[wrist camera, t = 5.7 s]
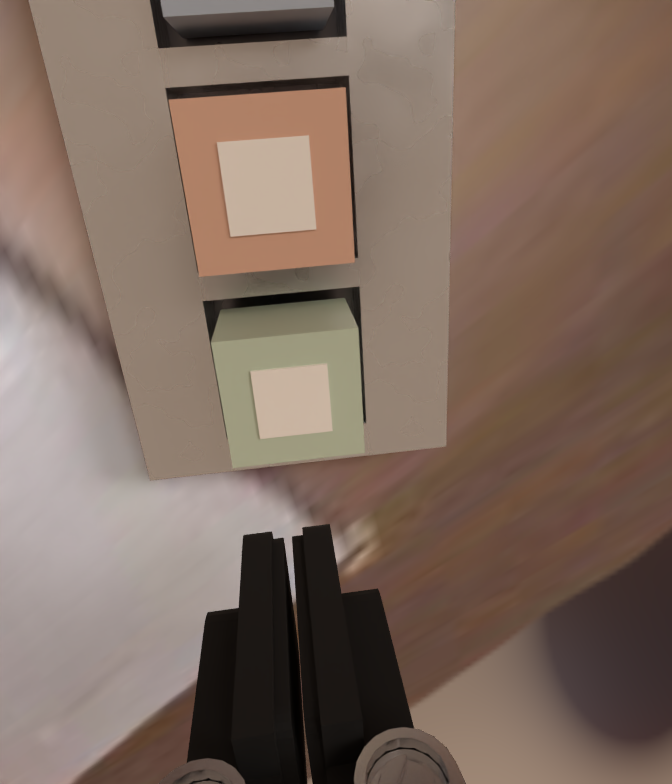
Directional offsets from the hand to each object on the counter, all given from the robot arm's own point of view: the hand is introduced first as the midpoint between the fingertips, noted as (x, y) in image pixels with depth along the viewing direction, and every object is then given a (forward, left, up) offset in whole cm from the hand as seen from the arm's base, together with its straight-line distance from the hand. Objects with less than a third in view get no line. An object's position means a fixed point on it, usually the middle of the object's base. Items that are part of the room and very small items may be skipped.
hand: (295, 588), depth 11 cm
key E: (0, 0, -11) cm, 11 cm away
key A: (0, -7, -11) cm, 13 cm away
